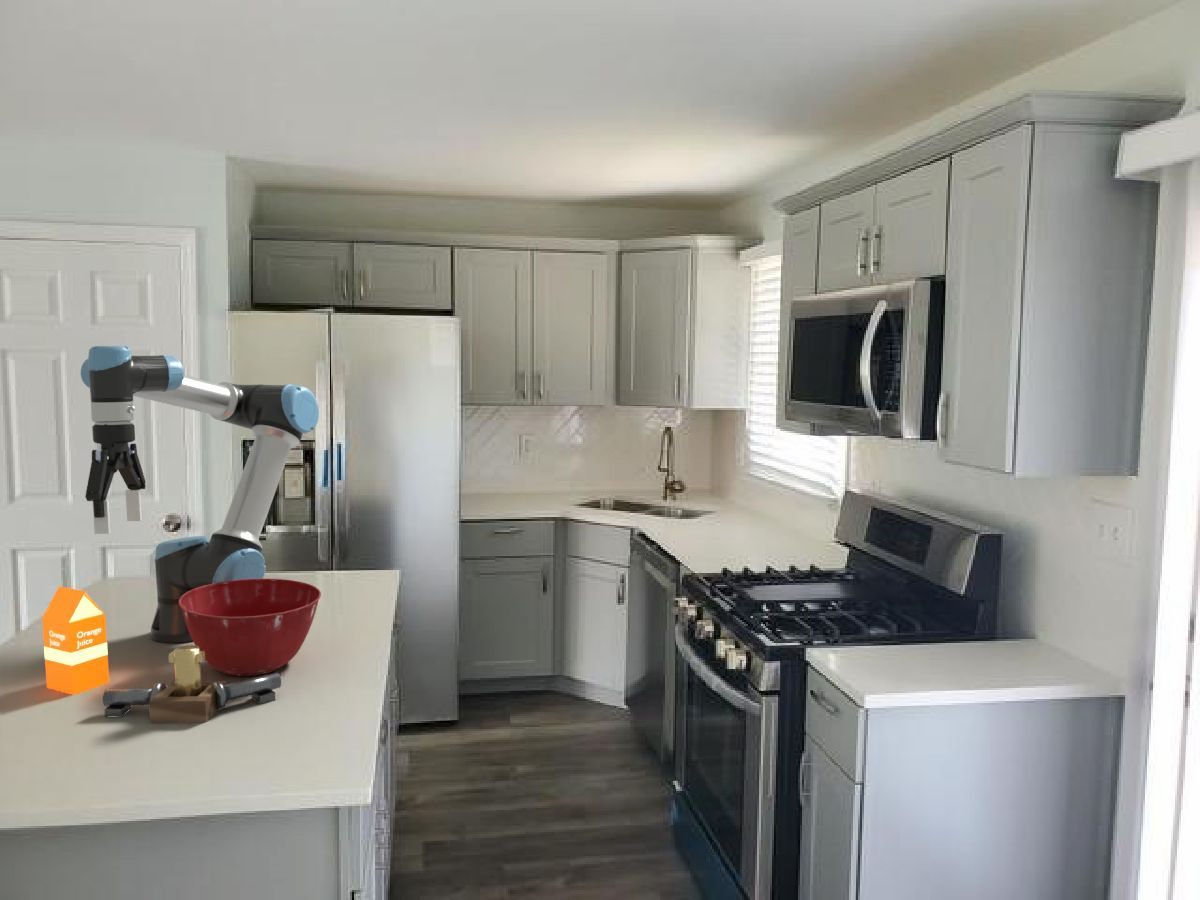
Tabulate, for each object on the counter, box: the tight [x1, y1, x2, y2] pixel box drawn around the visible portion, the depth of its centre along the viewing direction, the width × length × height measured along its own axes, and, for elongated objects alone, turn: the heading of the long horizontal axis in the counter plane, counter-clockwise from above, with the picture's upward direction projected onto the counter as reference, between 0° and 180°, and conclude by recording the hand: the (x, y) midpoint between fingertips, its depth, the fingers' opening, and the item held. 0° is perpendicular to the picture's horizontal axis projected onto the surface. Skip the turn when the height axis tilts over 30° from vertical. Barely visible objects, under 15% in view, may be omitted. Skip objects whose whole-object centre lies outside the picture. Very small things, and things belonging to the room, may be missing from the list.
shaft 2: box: [211, 672, 282, 710], centre depth 175 cm, size 12×5×6 cm, turn 133°
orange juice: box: [41, 586, 110, 696], centre depth 183 cm, size 8×9×20 cm
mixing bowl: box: [179, 577, 322, 677], centre depth 195 cm, size 28×28×16 cm
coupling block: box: [148, 680, 226, 724], centre depth 171 cm, size 10×10×4 cm
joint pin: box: [168, 644, 205, 697], centre depth 171 cm, size 4×6×12 cm
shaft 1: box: [102, 682, 167, 718], centre depth 170 cm, size 10×5×6 cm, turn 93°
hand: (119, 527), depth 185 cm, fingers open, 13 cm apart
